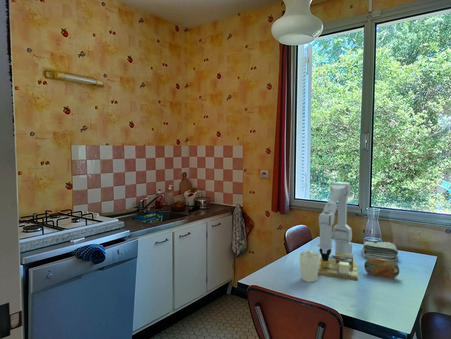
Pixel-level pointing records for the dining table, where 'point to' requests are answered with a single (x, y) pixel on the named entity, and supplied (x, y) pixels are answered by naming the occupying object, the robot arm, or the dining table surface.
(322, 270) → the board tunnel
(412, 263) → the dining table surface
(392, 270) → the tin
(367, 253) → the towel
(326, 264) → the slider
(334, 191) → the robot arm
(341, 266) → the block
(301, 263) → the cup
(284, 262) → the dining table surface
